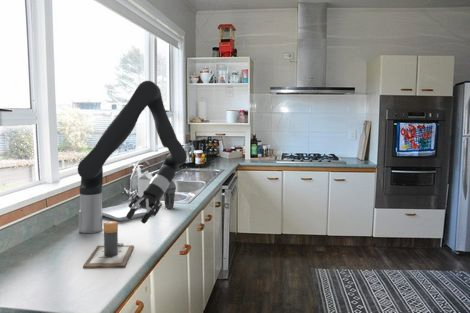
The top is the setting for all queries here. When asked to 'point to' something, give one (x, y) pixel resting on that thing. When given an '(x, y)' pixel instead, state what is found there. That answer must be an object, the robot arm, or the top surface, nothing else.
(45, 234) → the top surface
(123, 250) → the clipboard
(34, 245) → the top surface
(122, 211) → the salad plate
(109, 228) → the orange-capped grey cylinder
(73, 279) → the top surface
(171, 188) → the beverage cup
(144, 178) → the milk carton
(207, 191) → the top surface
